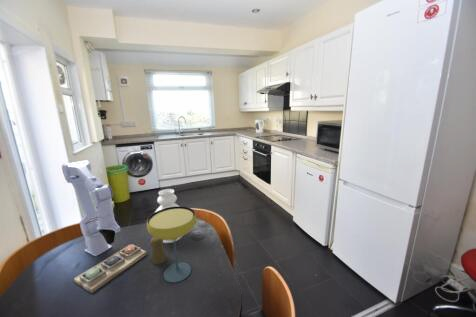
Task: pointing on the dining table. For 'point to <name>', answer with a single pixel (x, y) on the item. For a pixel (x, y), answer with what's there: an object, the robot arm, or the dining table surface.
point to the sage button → (92, 273)
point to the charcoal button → (112, 260)
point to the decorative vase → (167, 204)
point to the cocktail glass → (173, 235)
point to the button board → (110, 269)
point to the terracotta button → (129, 249)
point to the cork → (157, 251)
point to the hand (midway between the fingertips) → (110, 242)
